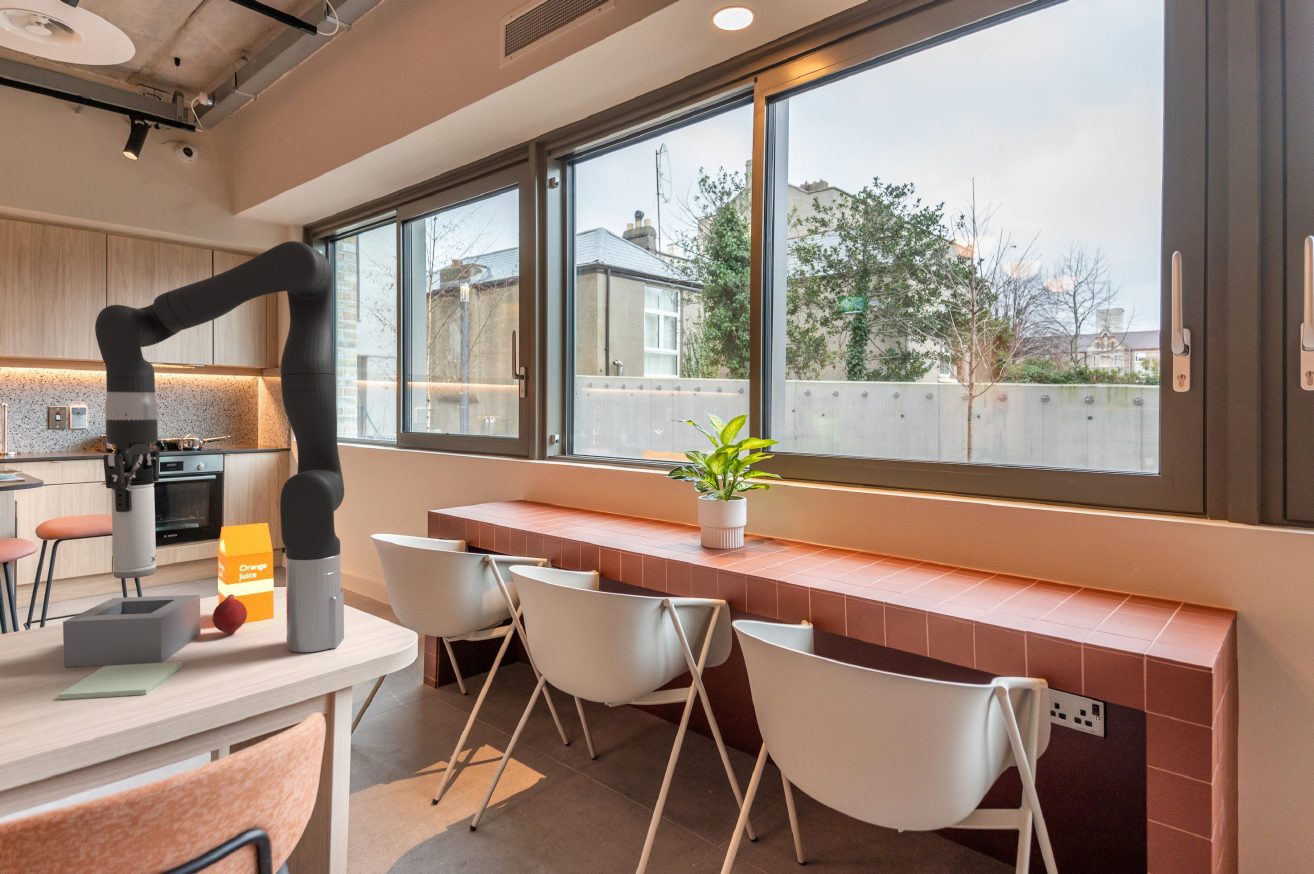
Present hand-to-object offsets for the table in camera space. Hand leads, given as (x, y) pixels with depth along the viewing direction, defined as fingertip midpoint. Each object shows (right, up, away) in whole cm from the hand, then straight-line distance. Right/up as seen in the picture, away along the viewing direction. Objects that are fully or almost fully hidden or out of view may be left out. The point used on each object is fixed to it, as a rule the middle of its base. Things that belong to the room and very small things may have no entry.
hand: (134, 508), depth 127 cm
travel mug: (0, -12, +1) cm, 12 cm away
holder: (0, -26, +1) cm, 26 cm away
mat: (+9, -27, -14) cm, 31 cm away
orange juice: (+8, -26, +21) cm, 34 cm away
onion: (+11, -26, +10) cm, 30 cm away
